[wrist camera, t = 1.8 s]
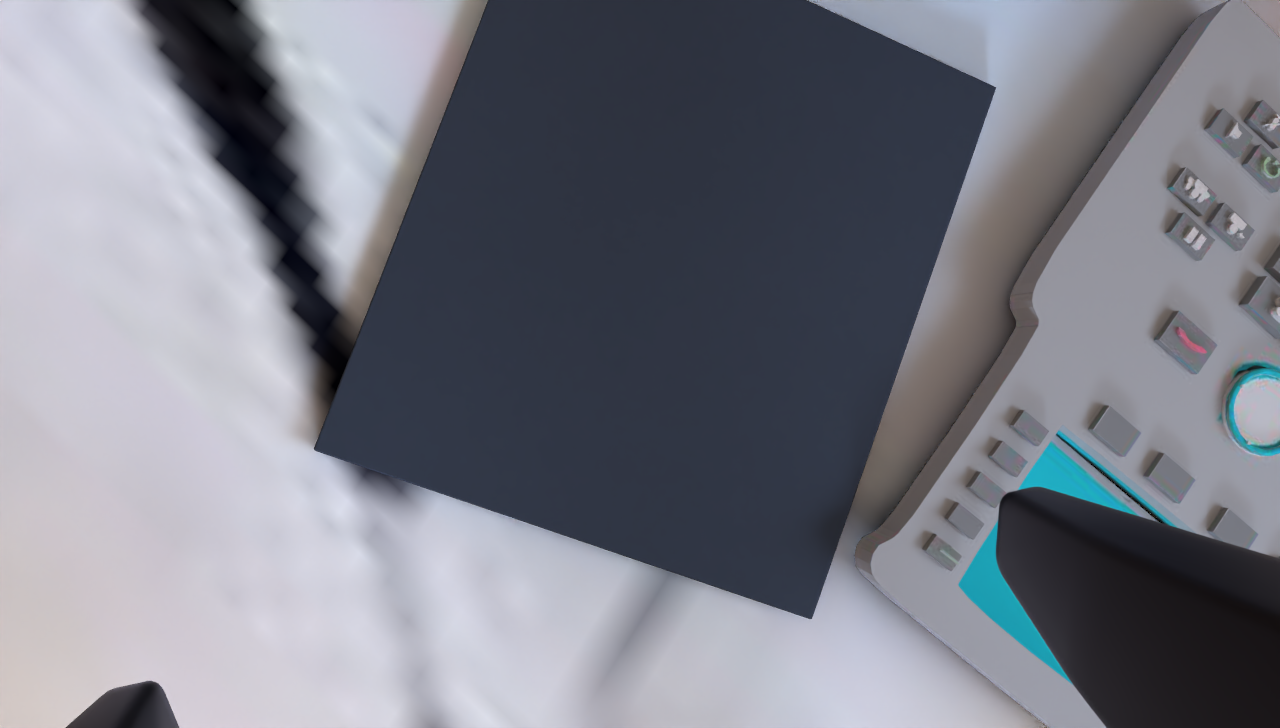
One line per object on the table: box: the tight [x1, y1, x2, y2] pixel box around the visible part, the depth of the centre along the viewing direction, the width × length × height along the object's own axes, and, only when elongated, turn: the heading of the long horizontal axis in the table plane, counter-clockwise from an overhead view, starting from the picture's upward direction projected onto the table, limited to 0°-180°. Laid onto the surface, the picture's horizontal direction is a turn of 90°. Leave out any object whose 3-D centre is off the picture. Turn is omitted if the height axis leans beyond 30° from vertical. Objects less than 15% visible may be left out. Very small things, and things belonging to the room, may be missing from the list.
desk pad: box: [314, 0, 996, 619], centre depth 23 cm, size 16×14×1 cm
